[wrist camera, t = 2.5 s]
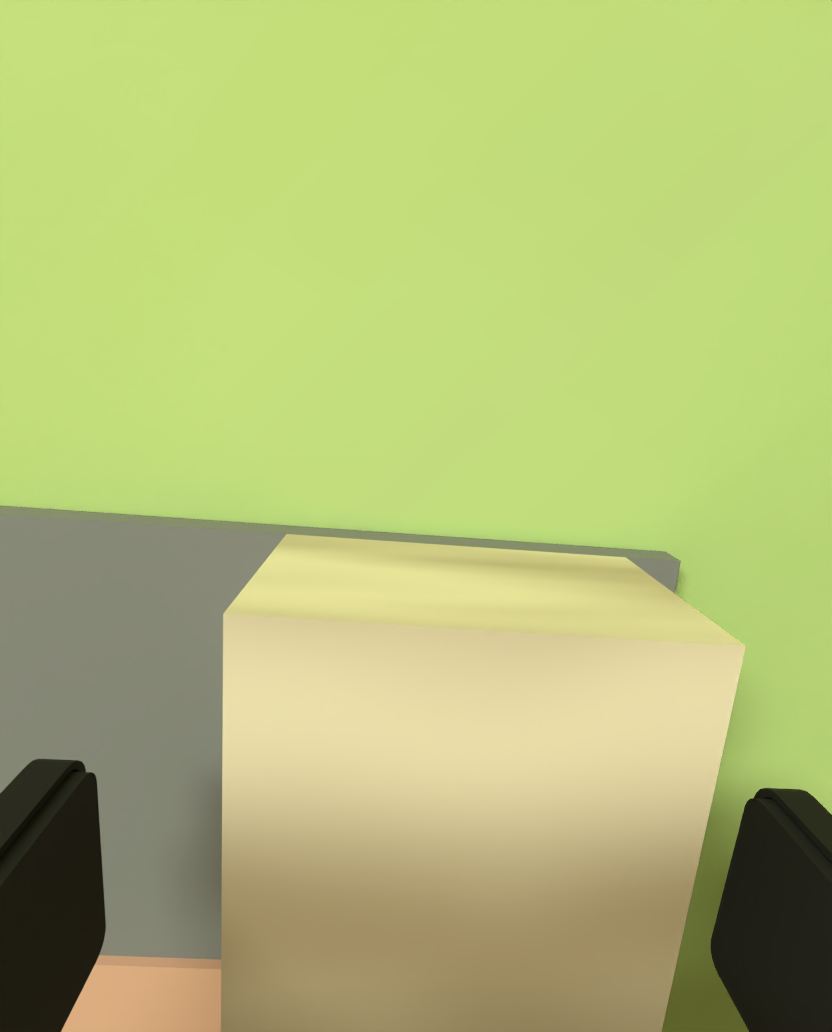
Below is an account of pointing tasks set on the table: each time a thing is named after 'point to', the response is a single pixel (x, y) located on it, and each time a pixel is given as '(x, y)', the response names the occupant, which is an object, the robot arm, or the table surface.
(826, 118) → the table surface
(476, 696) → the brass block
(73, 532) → the rubber mat
